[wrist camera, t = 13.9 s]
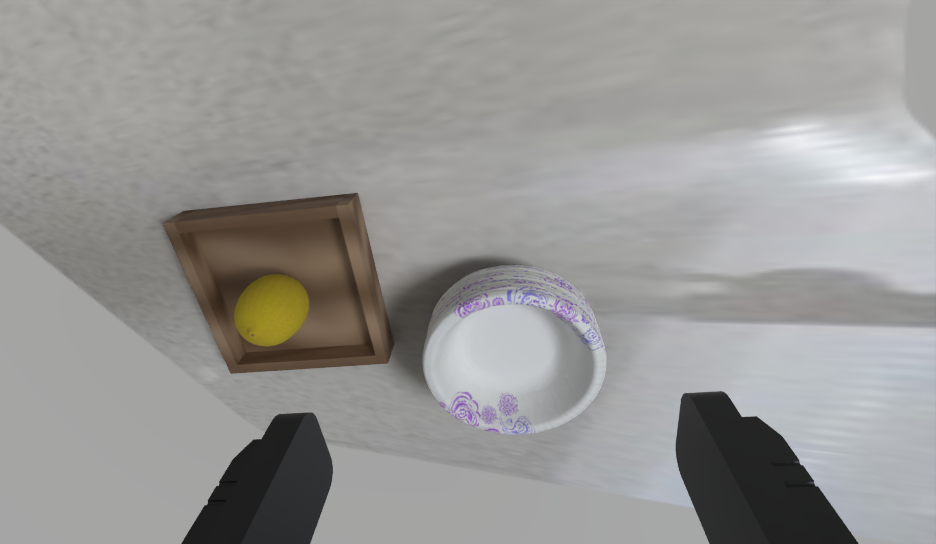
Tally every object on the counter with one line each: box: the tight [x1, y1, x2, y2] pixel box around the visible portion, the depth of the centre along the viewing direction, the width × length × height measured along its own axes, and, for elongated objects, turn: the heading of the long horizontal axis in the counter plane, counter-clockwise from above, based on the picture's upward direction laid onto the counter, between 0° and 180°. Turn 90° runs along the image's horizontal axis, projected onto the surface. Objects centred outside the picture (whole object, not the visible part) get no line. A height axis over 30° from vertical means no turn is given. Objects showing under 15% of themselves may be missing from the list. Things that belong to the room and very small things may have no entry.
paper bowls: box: [422, 265, 606, 434], centre depth 41 cm, size 15×15×8 cm
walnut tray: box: [163, 193, 394, 374], centre depth 43 cm, size 16×16×3 cm
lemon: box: [234, 274, 309, 346], centre depth 39 cm, size 6×6×8 cm
